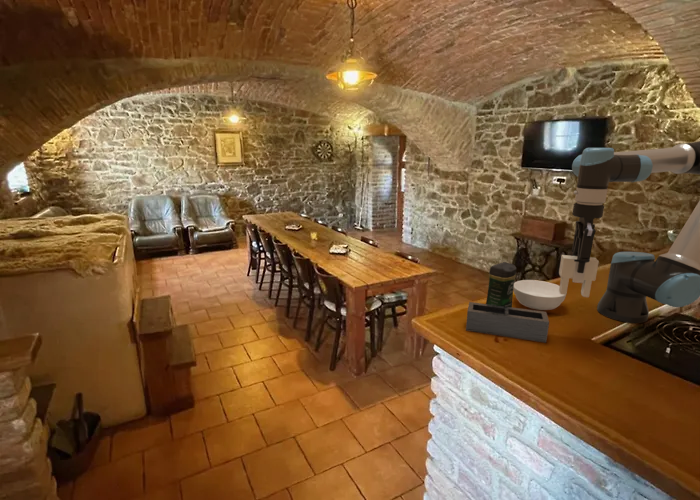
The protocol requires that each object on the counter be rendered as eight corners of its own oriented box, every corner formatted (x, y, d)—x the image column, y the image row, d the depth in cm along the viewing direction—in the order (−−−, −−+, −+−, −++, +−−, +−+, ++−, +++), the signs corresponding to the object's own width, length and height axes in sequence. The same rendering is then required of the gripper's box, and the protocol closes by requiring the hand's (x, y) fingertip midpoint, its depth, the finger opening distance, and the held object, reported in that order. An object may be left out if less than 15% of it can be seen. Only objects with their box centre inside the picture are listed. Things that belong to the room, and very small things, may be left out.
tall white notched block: (588, 293, 117) (595, 257, 114) (592, 298, 113) (598, 261, 110) (556, 289, 120) (561, 254, 117) (558, 294, 116) (563, 258, 113)
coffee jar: (502, 319, 134) (507, 269, 129) (481, 312, 140) (486, 264, 135) (515, 311, 140) (520, 263, 135) (495, 305, 146) (499, 259, 141)
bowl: (562, 320, 133) (565, 301, 131) (507, 309, 142) (509, 291, 141) (565, 302, 148) (568, 285, 146) (515, 293, 157) (517, 276, 155)
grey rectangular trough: (543, 331, 125) (546, 311, 123) (546, 342, 118) (549, 322, 116) (467, 320, 133) (469, 301, 131) (465, 330, 126) (467, 311, 124)
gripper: (569, 198, 118) (557, 270, 124) (580, 206, 102) (567, 287, 109) (596, 199, 115) (584, 272, 122) (612, 208, 100) (597, 291, 106)
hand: (576, 279), depth 115 cm, fingers closed on tall white notched block, 4 cm apart
